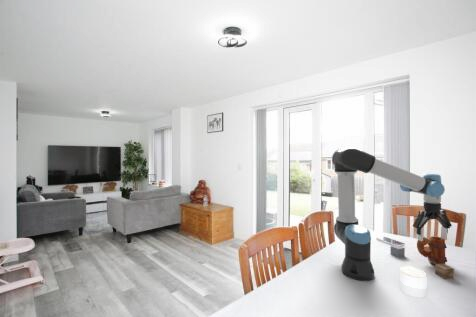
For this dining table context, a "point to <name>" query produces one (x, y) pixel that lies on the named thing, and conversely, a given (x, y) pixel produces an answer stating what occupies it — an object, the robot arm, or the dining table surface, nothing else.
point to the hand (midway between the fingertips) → (432, 240)
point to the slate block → (397, 251)
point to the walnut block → (444, 271)
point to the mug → (433, 249)
